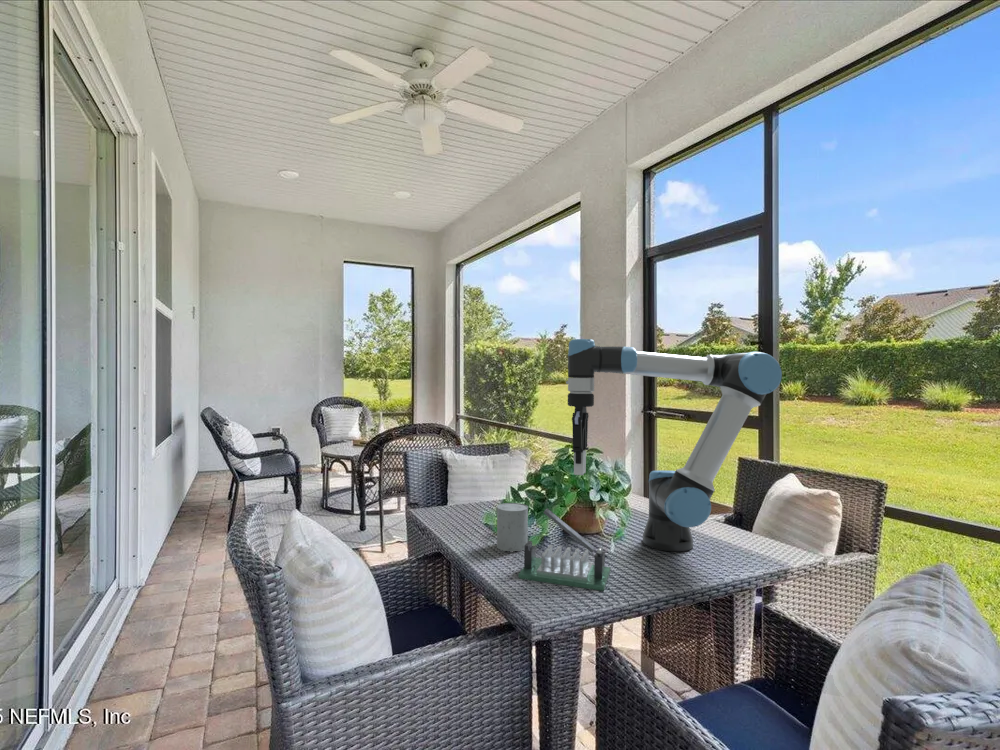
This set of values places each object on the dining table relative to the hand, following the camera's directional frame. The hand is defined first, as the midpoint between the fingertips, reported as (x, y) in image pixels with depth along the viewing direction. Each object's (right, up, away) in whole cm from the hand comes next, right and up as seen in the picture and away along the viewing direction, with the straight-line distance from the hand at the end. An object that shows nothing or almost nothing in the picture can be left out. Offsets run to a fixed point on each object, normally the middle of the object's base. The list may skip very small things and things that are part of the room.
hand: (579, 473), depth 151 cm
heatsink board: (-6, -25, -13) cm, 28 cm away
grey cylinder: (-19, -24, +9) cm, 32 cm away
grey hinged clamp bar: (-4, -13, -13) cm, 19 cm away
